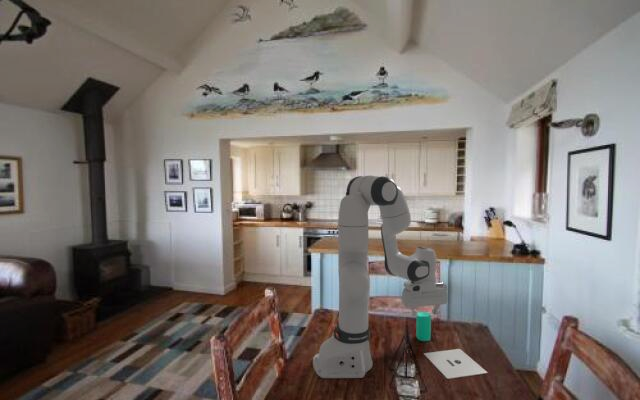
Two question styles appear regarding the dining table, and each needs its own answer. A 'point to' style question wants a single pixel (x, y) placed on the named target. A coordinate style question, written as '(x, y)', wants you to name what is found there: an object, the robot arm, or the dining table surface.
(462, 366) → the tile
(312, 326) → the dining table surface
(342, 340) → the robot arm
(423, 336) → the candle
